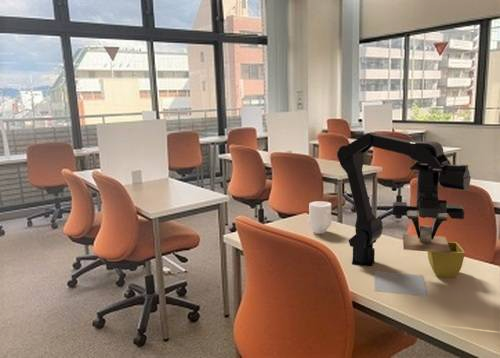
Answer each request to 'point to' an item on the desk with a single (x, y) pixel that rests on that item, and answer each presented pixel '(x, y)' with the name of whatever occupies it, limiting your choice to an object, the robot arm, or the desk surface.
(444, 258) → the flower pot
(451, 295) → the desk surface
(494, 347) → the desk surface
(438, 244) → the lid
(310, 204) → the mug
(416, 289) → the tray
